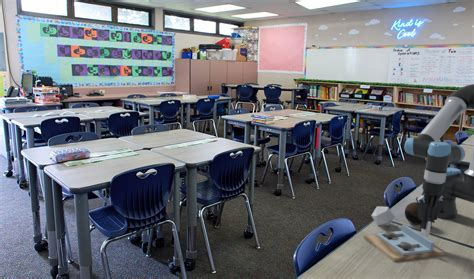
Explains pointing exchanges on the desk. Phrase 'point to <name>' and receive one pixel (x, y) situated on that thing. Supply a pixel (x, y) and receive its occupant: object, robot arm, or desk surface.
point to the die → (382, 216)
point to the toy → (412, 213)
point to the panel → (409, 241)
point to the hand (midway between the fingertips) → (424, 235)
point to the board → (405, 246)
